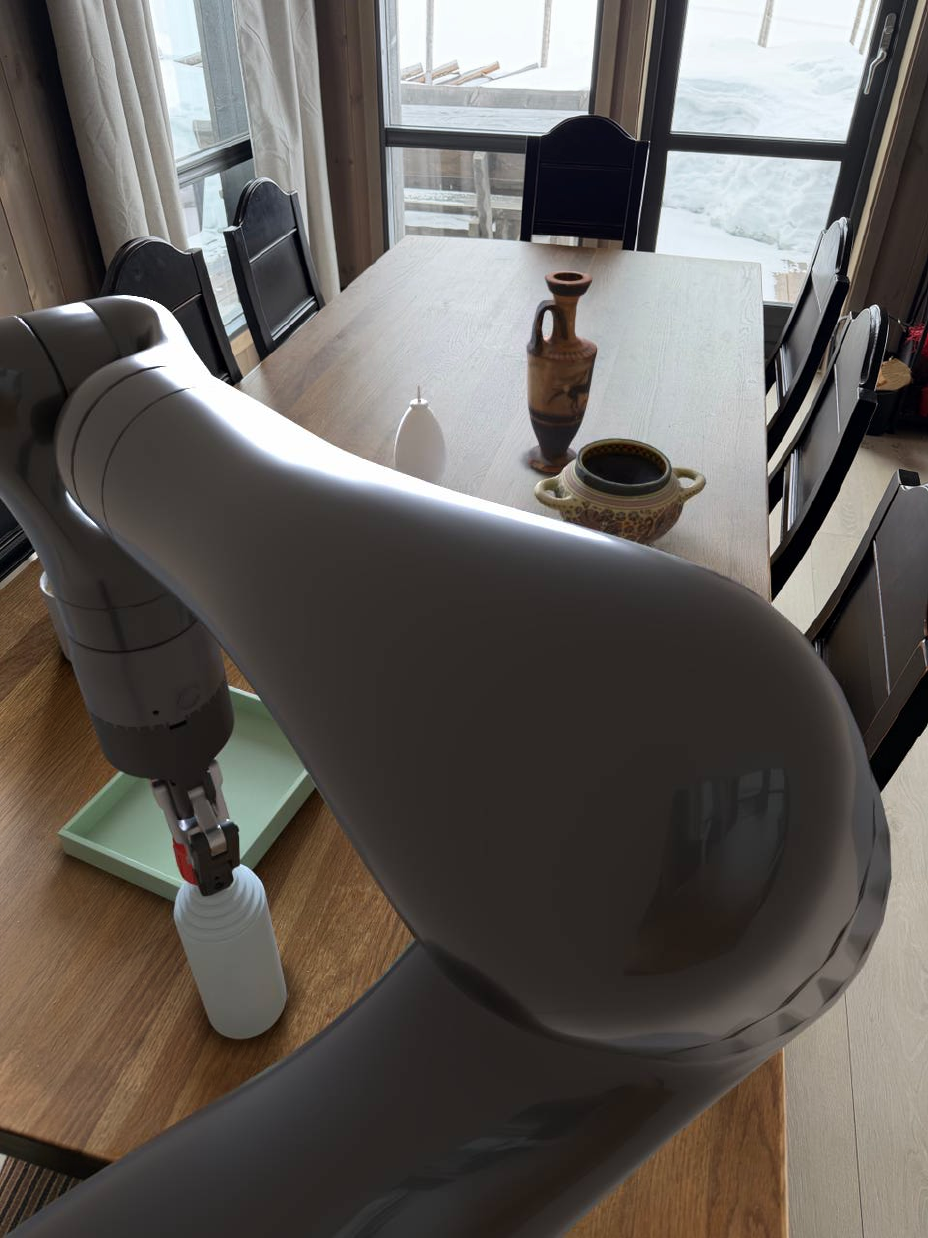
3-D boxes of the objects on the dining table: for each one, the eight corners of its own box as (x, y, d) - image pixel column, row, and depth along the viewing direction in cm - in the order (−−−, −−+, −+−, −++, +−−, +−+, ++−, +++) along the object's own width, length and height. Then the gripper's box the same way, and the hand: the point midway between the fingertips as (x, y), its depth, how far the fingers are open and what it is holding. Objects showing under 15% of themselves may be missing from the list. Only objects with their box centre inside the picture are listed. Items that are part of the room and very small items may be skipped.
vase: (579, 445, 149) (597, 264, 130) (590, 476, 140) (612, 287, 122) (516, 446, 148) (526, 265, 129) (523, 477, 140) (535, 287, 121)
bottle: (266, 1049, 68) (226, 904, 55) (192, 1027, 69) (137, 881, 56) (299, 974, 72) (269, 825, 60) (229, 955, 74) (185, 805, 61)
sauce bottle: (411, 477, 139) (407, 369, 128) (454, 488, 137) (455, 379, 125) (387, 499, 134) (381, 389, 123) (431, 511, 131) (430, 399, 120)
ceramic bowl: (535, 586, 121) (548, 511, 109) (517, 496, 131) (527, 418, 119) (704, 576, 123) (735, 502, 111) (673, 489, 134) (698, 412, 122)
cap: (245, 871, 58) (241, 841, 56) (190, 896, 56) (183, 865, 54) (225, 832, 61) (220, 802, 59) (171, 854, 59) (164, 824, 57)
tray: (214, 920, 76) (208, 900, 75) (65, 853, 82) (56, 833, 80) (347, 745, 93) (345, 725, 91) (216, 699, 98) (211, 679, 97)
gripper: (53, 628, 51) (120, 816, 61) (121, 786, 41) (186, 976, 52) (179, 588, 54) (221, 774, 65) (268, 727, 45) (300, 917, 55)
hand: (205, 863), depth 58 cm, fingers closed on cap, 3 cm apart
